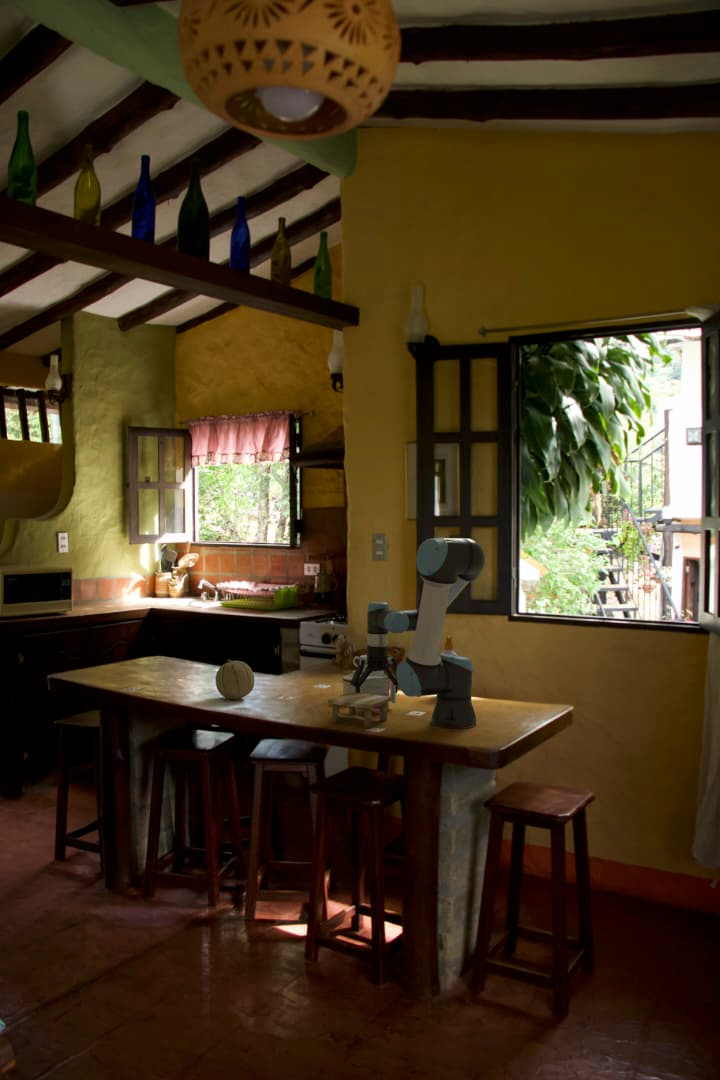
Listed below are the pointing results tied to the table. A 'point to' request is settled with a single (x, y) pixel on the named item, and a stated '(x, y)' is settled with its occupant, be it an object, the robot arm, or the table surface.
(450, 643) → the soap bottle
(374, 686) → the ink box
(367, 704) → the footstool
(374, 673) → the teacup
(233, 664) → the cantaloupe
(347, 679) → the teacup with lid
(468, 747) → the table surface
